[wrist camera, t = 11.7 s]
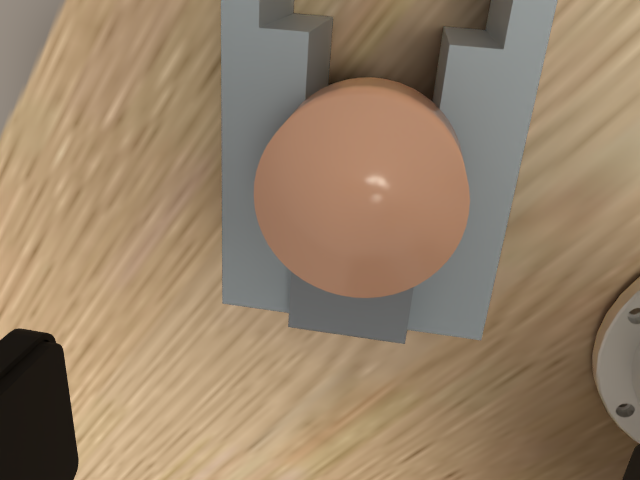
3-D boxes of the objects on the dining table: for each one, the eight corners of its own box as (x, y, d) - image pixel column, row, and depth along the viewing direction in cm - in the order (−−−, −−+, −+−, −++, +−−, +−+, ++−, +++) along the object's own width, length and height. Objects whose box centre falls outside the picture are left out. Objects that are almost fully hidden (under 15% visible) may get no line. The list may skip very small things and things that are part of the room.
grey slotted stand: (470, 269, 29) (483, 355, 23) (258, 242, 30) (215, 316, 24) (546, -109, 22) (596, -138, 16) (266, -126, 23) (209, -159, 17)
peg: (456, 206, 27) (469, 296, 19) (308, 212, 28) (269, 299, 21) (455, 48, 24) (469, 86, 17) (290, 63, 25) (238, 104, 18)
